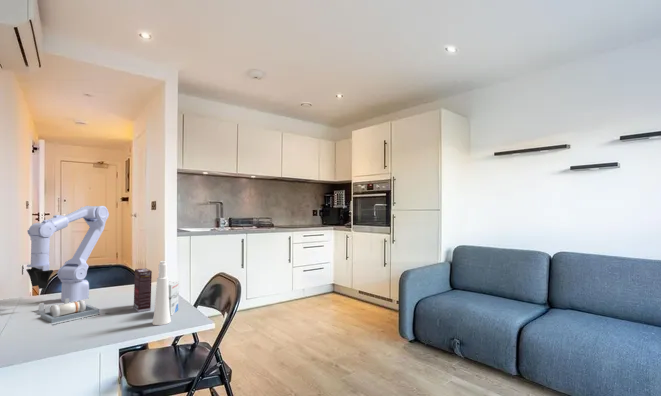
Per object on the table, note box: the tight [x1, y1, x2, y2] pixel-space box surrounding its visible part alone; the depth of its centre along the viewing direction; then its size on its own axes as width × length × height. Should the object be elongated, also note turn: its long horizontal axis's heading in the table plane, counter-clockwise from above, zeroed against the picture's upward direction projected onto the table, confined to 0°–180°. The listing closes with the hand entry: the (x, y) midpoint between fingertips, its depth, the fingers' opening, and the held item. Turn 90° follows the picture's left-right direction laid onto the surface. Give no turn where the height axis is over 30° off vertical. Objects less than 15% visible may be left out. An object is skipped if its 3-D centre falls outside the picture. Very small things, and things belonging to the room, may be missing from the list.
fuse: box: [50, 299, 87, 318], centre depth 132 cm, size 10×5×5 cm
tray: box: [40, 304, 100, 326], centre depth 131 cm, size 15×11×2 cm
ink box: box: [168, 280, 180, 317], centre depth 137 cm, size 8×5×12 cm, turn 5°
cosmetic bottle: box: [151, 260, 172, 326], centre depth 125 cm, size 6×6×22 cm
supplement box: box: [133, 267, 153, 313], centre depth 142 cm, size 9×5×16 cm, turn 41°
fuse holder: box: [32, 298, 77, 316], centre depth 138 cm, size 13×10×4 cm
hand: (39, 287), depth 139 cm, fingers open, 7 cm apart
